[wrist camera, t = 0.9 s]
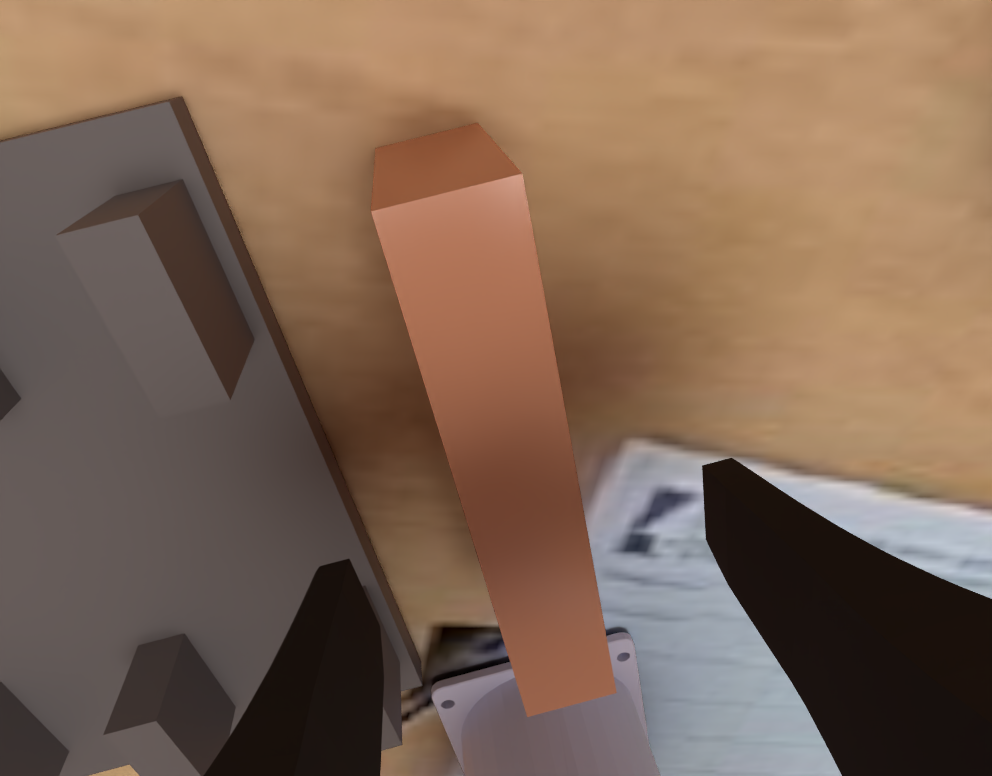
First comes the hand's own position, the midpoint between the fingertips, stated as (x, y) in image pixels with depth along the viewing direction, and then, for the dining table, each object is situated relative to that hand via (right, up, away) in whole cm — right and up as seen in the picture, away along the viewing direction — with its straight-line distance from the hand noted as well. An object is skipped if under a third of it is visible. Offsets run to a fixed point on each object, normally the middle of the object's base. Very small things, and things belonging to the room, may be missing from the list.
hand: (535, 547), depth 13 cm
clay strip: (-1, +3, +6) cm, 7 cm away
